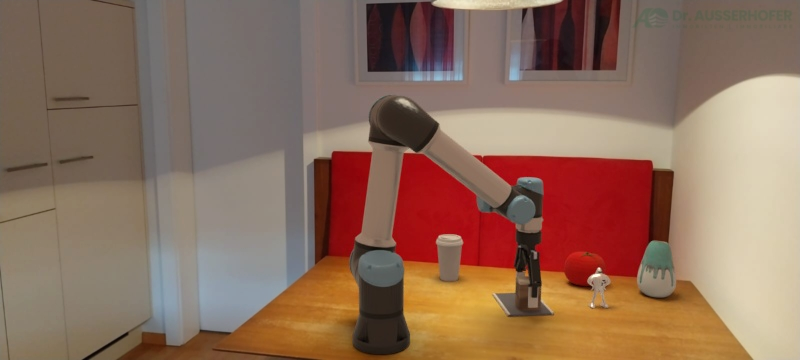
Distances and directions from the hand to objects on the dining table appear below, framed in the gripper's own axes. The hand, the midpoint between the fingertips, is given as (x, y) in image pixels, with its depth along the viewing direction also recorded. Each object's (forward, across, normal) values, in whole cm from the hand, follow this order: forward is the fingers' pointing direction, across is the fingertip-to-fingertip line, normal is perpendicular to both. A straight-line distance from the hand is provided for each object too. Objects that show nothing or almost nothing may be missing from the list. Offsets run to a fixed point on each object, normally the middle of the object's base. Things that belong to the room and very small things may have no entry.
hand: (526, 299), depth 178 cm
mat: (+3, +4, 0) cm, 5 cm away
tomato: (+3, +21, -27) cm, 34 cm away
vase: (+3, +9, -46) cm, 47 cm away
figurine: (+3, +1, -23) cm, 23 cm away
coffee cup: (+3, +31, +18) cm, 36 cm away
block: (+3, 0, 0) cm, 3 cm away
